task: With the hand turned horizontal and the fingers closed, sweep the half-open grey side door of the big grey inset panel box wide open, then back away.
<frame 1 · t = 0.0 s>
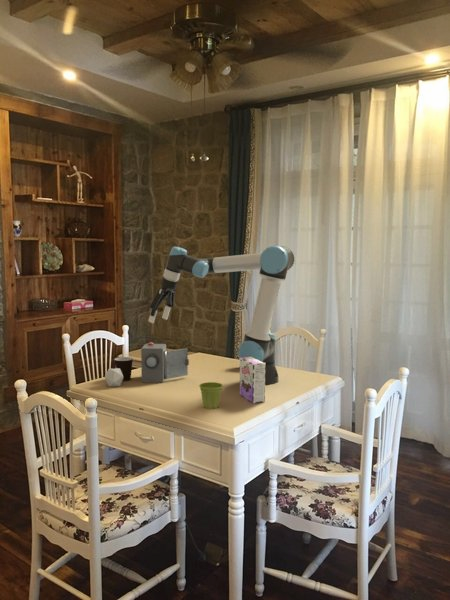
hand: (157, 320, 245), 28 cm above the table, tool tilted 20°, fingers open, 13 cm apart
die: (114, 386, 232), on the table
coffee mug: (124, 379, 245), on the table
candy box: (251, 399, 213), on the table
side door: (176, 363, 242), point 8 cm above the table, hinge at 50.0°
plant pot: (211, 407, 202), on the table
grey inset panel box: (154, 379, 245), on the table
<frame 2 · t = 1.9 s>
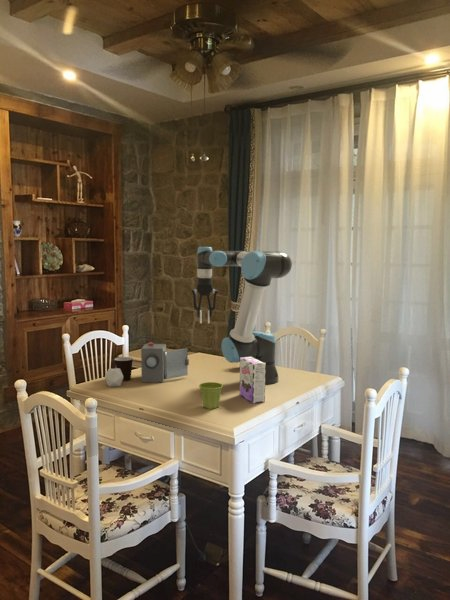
hand: (204, 323, 261), 25 cm above the table, tool pointing down, fingers open, 3 cm apart
nothing on the table moved.
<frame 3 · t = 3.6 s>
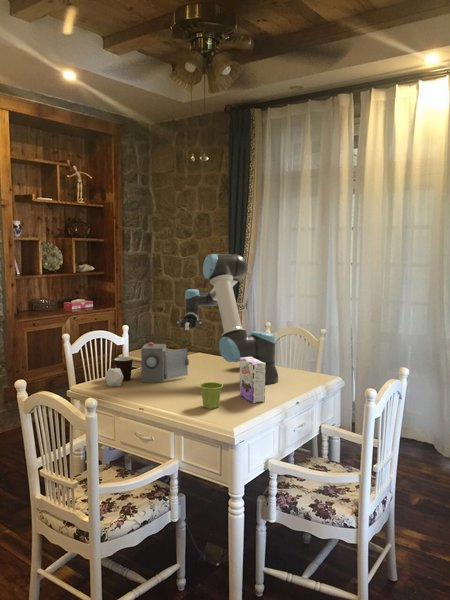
hand: (186, 327, 250), 24 cm above the table, tool horizontal, fingers closed
nothing on the table moved.
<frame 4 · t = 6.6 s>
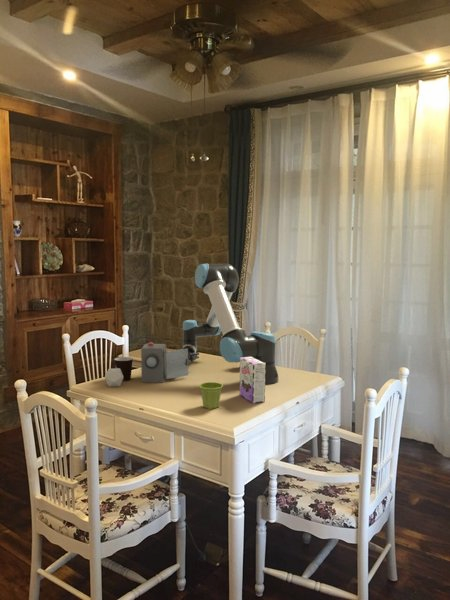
hand: (183, 362, 246), 8 cm above the table, tool horizontal, fingers closed
side door: (176, 363, 242), point 8 cm above the table, hinge at 52.2°, touching gripper
everything else where it was.
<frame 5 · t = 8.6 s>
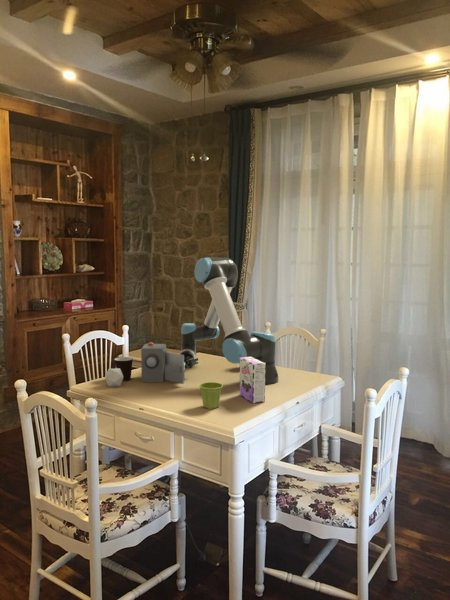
hand: (181, 368, 233), 8 cm above the table, tool horizontal, fingers closed
side door: (173, 367, 234), point 8 cm above the table, hinge at 131.4°, touching gripper
everything else where it was.
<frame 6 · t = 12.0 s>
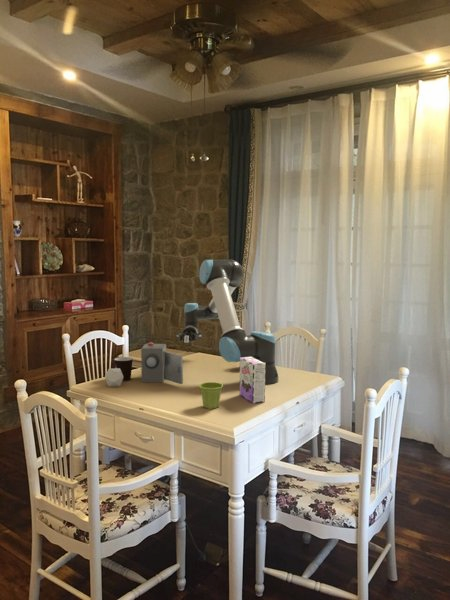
hand: (186, 340, 251), 18 cm above the table, tool horizontal, fingers closed
side door: (172, 367, 234), point 8 cm above the table, hinge at 135.7°
everything else where it was.
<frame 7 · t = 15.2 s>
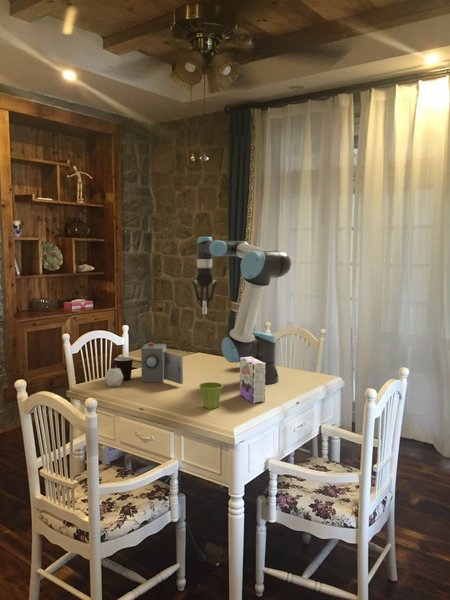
hand: (204, 313, 261), 29 cm above the table, tool pointing down, fingers closed
nothing on the table moved.
at the end: side door at +136° (first picture: +50°) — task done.
